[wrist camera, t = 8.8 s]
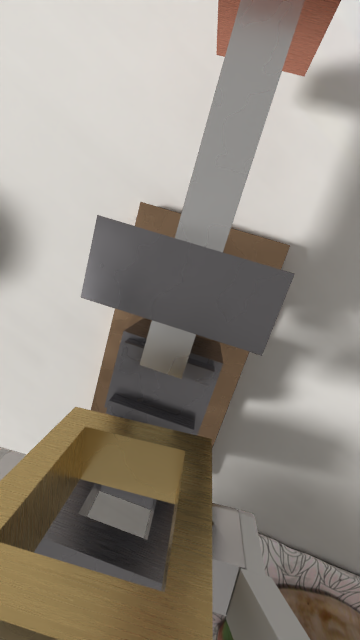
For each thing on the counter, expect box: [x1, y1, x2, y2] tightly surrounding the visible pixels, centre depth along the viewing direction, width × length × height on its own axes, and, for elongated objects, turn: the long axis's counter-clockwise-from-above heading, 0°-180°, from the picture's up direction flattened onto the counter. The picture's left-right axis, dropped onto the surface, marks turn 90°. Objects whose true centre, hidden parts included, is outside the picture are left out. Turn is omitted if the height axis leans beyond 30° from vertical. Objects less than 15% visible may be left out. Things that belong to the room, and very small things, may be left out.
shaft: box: [140, 0, 341, 379], centre depth 11 cm, size 19×5×8 cm, turn 163°
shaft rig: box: [34, 202, 294, 591], centre depth 16 cm, size 23×12×12 cm, turn 163°
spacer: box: [0, 407, 213, 640], centre depth 7 cm, size 2×6×6 cm, turn 81°
